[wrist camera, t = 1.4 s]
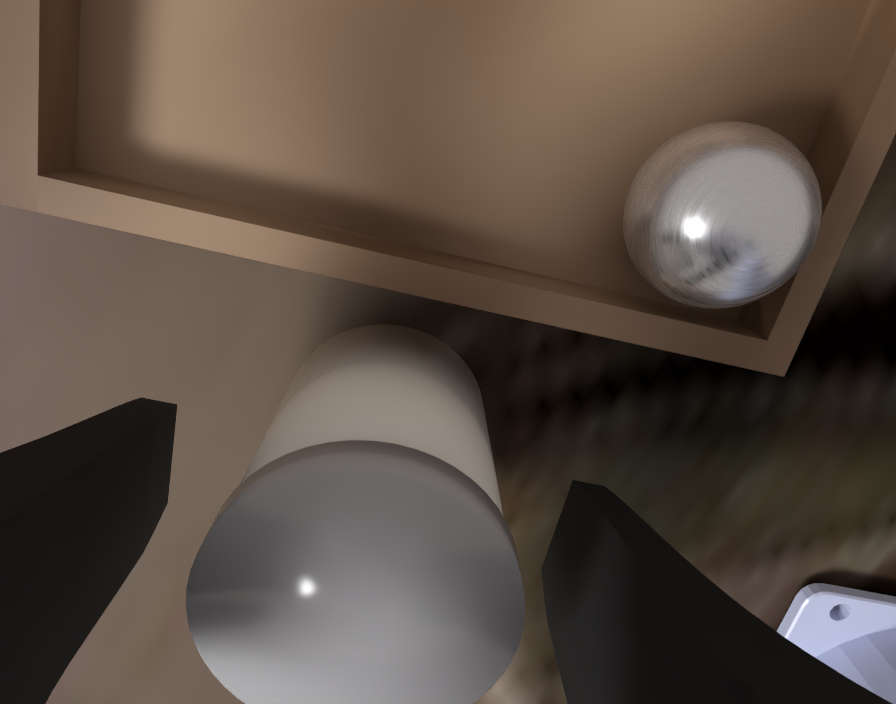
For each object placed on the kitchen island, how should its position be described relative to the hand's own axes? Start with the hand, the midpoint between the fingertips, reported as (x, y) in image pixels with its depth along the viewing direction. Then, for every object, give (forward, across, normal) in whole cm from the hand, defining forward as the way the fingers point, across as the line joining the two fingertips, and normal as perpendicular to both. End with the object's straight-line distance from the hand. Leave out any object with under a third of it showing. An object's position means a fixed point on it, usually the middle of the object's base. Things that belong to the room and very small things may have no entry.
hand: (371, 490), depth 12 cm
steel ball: (+1, -5, -6) cm, 8 cm away
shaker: (+3, 0, 0) cm, 3 cm away
